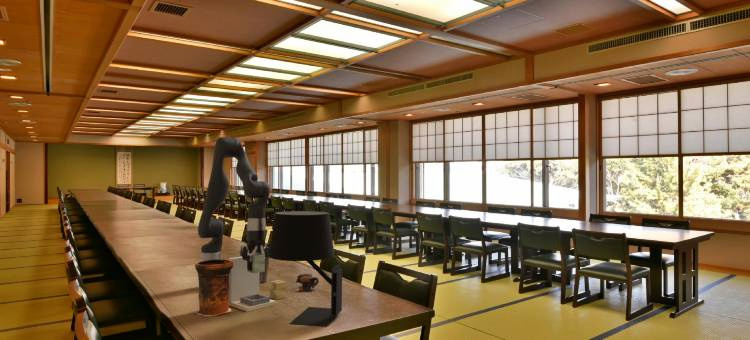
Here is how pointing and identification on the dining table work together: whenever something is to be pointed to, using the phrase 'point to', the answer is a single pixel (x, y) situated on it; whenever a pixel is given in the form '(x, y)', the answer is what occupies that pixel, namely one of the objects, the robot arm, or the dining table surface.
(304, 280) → the pottery mug
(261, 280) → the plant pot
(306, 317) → the table lamp
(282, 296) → the mustard block
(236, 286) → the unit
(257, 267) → the sage block
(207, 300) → the vessel
